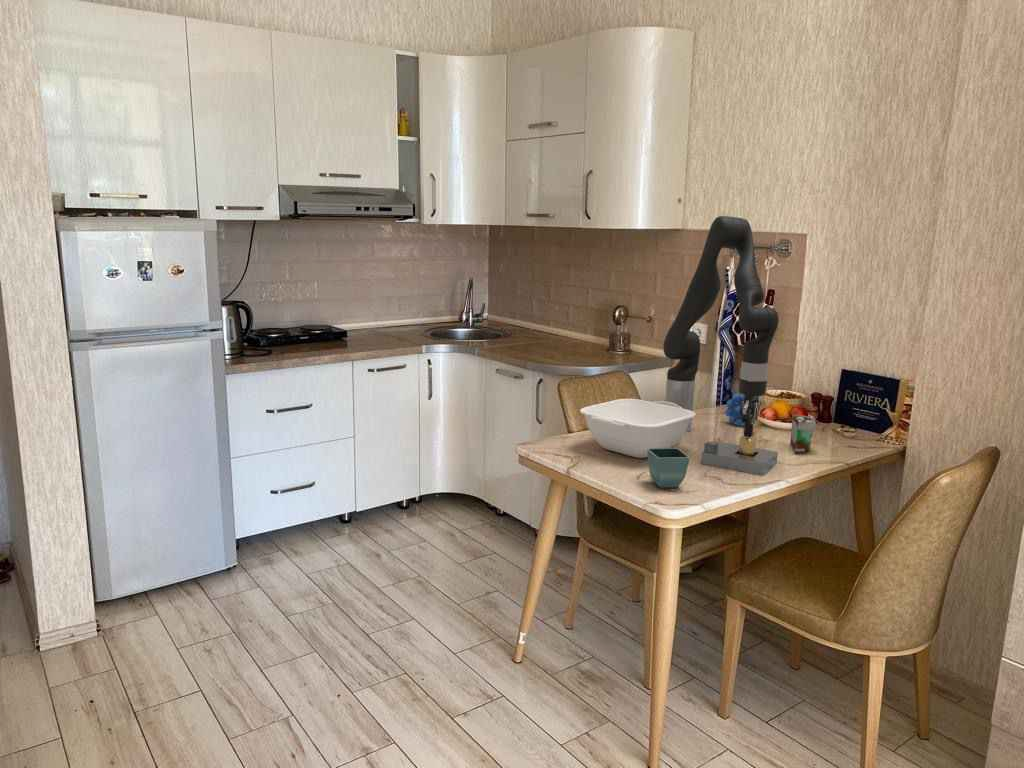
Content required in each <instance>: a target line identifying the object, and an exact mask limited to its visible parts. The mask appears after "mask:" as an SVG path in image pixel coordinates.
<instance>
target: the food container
mask: <svg viewBox="0 0 1024 768" xmlns="http://www.w3.org/2000/svg"><path fill="white" fill-rule="evenodd" d="M791 420H792V421H791V430H790V431H791V432H790V444H789V445H790V449H792V452H793V453H794V455H795V454H796V455H804V454H808V453H809V452H810V451H811V450H810V449H811V444H812V439H813V433H814V429H816V428H817V425H816V424H817V423H816V421H815V419H814V418H813V417H811V416H806V415H803V414H795V413H792V417H791Z"/></svg>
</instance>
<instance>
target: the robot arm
mask: <svg viewBox="0 0 1024 768" xmlns="http://www.w3.org/2000/svg"><path fill="white" fill-rule="evenodd" d="M708 230H709V231H708V234H707V237H706V239H705V243H704V245H703V246H704V247H703V250H702V252H701V257H700V259H699V262H698V263H697V267H696V269H695V272H694V274H693V276H692V279H691V281H690V283H689V285H688V288H687V291H686V293H685V297H684V298H683V301H682V304H681V305H680V308H679V310H678V312H677V314H676V317H675V318H674V321H673V322H672V324H671V325H670V328H669V330H668V331H667V333H666V335H665V337H664V341H663V353H664V356H665V357H666V358H667V359H669V360H676V361H677V360H678V363H676V365H674V366H673V367H671V368H669V369H668V370H667V372H666V385H665V386H666V389H665V399H664V400H663V401H666V402H671V403H674V404H677V405H678V406H680V407H682V409H687V410H690V411H693V412H694V401H695V399H694V398H695V387H696V385H695V384H696V381H695V380H696V375H697V373H698V370H699V363H700V362H699V361H700V355H701V339H700V337H699V335H698V333H697V332H695V331H691V329H692V328H693V326H694V325H695V324H696V323H697V322H698V321H700V319H701V318H702V317H703V316H705V315H706V314H707V313H708V312H709V311H710V310H711V309H712V307H713V306H714V304H715V303H716V299H717V297H718V296H719V293H720V290H721V286H722V284H721V278H720V273H719V269H718V258H719V255H720V253H721V250H722V249H732V250H733V249H735V250H736V251H737V253H738V256H739V260H738V261H739V262H738V264H737V267H736V269H735V272H734V275H733V276H734V277H733V284H734V287H735V291H736V294H737V298H738V306H739V307H738V325H739V327H740V329H742V330H743V331H744V332H746V333H758V335H757V337H755V338H754V339H749V340H746V341H745V342H744V343H743V346H742V355H741V357H742V358H741V365H740V370H739V379H738V380H739V381H738V382H739V383H738V394H740V395H741V394H744V395H745V397H744V400H743V402H742V406H743V408H740V414H741V419H742V423H744V424H743V426H744V427H743V436H745V437H753V435H754V425H755V423H756V421H757V419H758V416H759V413H760V409H761V405H762V401H761V400H760V397H762V396H765V395H766V394H767V384H768V375H769V368H768V367H769V365H768V364H769V352H770V349H771V346H772V342H773V339H774V337H775V334H776V332H777V329H778V327H779V321H780V320H779V319H780V318H779V313H778V312H777V310H776V309H775V308H773V307H769V306H768V307H767V306H762V307H761V306H758V305H760V304H762V303H763V301H764V299H765V292H764V288H763V287H762V286H763V285H762V283H761V280H760V277H759V274H758V269H757V263H756V262H757V261H756V254H755V246H754V238H753V231H752V228H751V224H750V222H749V220H747V219H746V218H743V217H737V216H728V215H727V216H726V215H718V216H717V217H716V218H715V219H714V220H713V221H712V223H711V225H710V227H709V229H708ZM692 425H693V418H691V419H690V421H689V424H688V426H687V429H686V431H685V433H687V432H690V431H692Z"/></svg>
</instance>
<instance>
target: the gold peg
mask: <svg viewBox="0 0 1024 768" xmlns="http://www.w3.org/2000/svg"><path fill="white" fill-rule="evenodd" d="M756 444H757V438H756V437H754V436H751V437H745V436H744V435H743V436H740V437H739V445H740V446H739V455H745V456H750V457H755V448H756V446H757V445H756Z"/></svg>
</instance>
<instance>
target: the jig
mask: <svg viewBox="0 0 1024 768" xmlns="http://www.w3.org/2000/svg"><path fill="white" fill-rule="evenodd" d="M703 445H704V448H703V451H701V457H700V464H701V465H706V466H712V467H718V468H722V469H727V470H731V471H732V470H733V471H737V472H743V473H748V474H754V475H758V476H765V475H766V474H767V473H768V472H770V470H771V469H772V468H773V467H775V465H777V463H778V454H779V452H778V451H775V450H770V449H764V448H758V447H755V457H750V456H745V455H739V446H740V444H735V443H730V442H723V441H718V440H717V441H715V442H714V441H710V440H708V441H706V442H705V443H704V444H703Z"/></svg>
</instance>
